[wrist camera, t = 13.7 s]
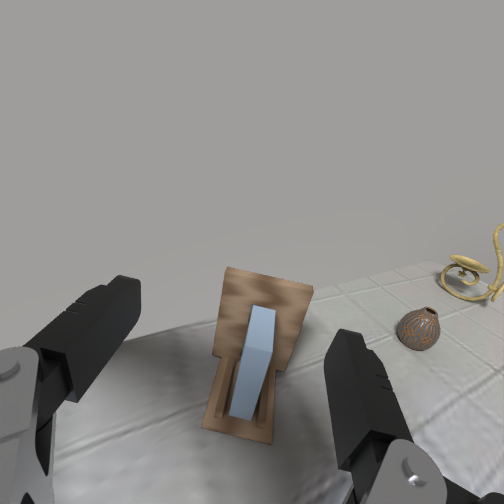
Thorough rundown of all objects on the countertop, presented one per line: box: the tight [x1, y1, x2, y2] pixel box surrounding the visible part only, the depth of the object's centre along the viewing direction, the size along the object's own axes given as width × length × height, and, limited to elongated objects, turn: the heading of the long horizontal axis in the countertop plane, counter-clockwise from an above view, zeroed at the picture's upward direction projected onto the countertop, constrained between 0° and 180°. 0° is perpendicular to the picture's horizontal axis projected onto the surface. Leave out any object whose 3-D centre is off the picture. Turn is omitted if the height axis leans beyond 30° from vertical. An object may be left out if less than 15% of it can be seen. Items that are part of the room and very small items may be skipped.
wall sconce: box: [440, 223, 504, 302], centre depth 69 cm, size 14×10×25 cm
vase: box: [398, 307, 440, 350], centre depth 51 cm, size 7×7×9 cm
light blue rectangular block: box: [229, 305, 276, 421], centre depth 33 cm, size 3×7×13 cm, turn 172°
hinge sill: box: [201, 267, 314, 445], centre depth 33 cm, size 12×12×17 cm
